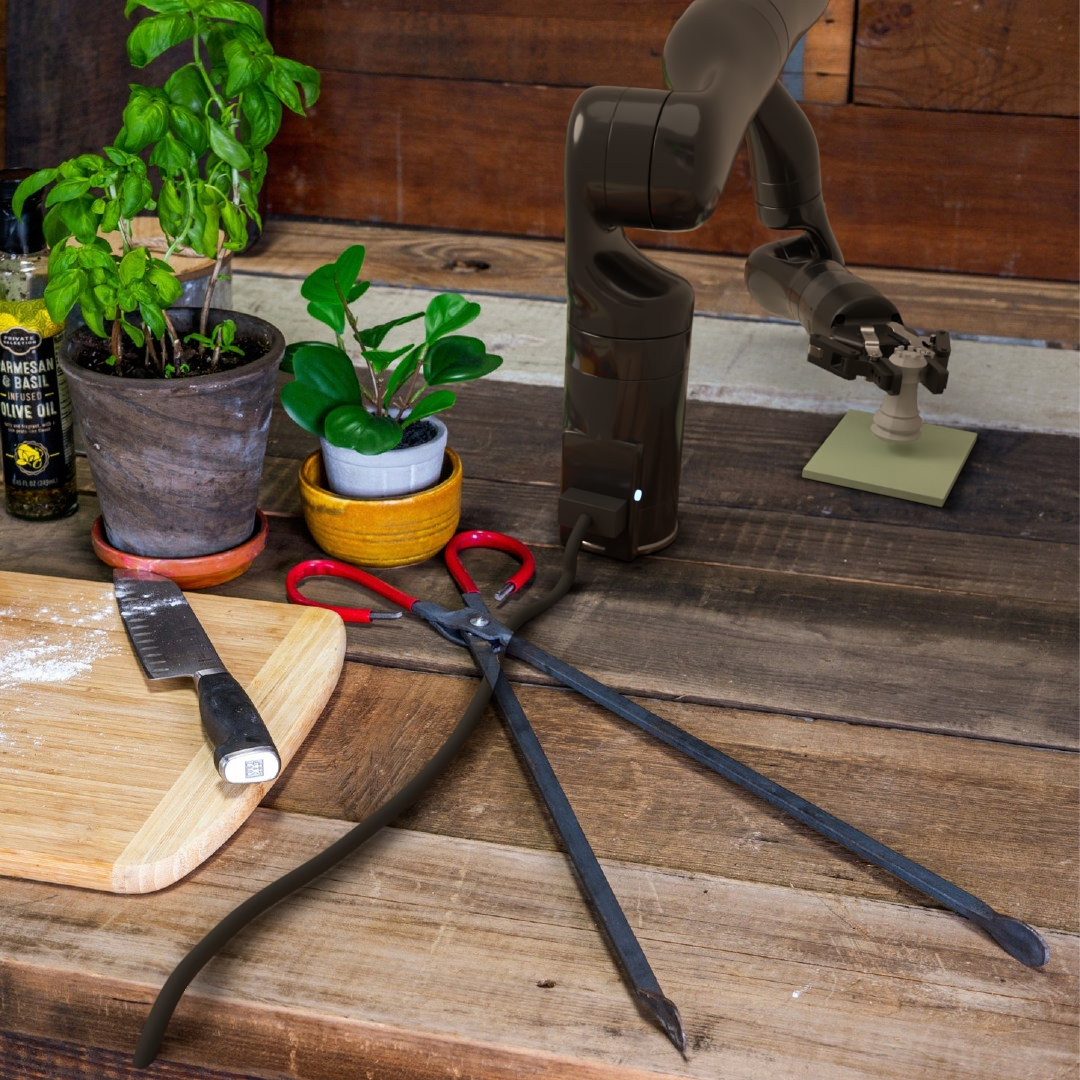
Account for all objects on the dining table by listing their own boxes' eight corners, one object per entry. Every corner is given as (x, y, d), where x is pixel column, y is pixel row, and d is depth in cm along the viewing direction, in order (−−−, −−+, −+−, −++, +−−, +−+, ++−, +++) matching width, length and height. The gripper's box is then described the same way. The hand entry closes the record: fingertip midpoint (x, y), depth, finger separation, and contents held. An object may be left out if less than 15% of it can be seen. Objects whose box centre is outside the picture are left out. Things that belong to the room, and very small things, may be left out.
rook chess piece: (912, 449, 110) (927, 363, 106) (862, 437, 112) (876, 352, 108) (927, 432, 113) (942, 348, 109) (879, 421, 115) (892, 338, 111)
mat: (942, 507, 104) (943, 498, 104) (801, 477, 109) (802, 469, 109) (976, 440, 117) (977, 433, 117) (849, 416, 122) (850, 408, 121)
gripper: (782, 282, 119) (846, 345, 104) (923, 279, 121) (1006, 340, 106) (773, 357, 123) (834, 428, 108) (910, 353, 125) (989, 422, 110)
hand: (919, 384), depth 107 cm, fingers closed on rook chess piece, 3 cm apart
